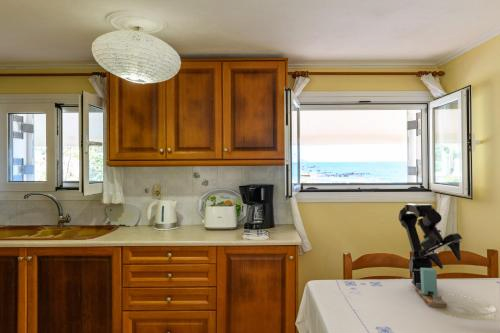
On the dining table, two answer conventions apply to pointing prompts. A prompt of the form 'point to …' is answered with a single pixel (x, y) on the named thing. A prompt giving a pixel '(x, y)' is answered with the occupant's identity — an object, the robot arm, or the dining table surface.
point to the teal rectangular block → (428, 281)
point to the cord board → (430, 298)
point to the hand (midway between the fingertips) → (450, 264)
